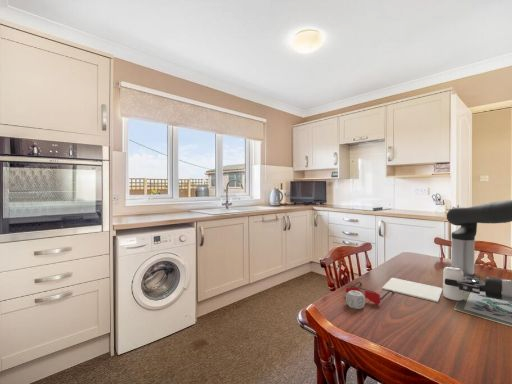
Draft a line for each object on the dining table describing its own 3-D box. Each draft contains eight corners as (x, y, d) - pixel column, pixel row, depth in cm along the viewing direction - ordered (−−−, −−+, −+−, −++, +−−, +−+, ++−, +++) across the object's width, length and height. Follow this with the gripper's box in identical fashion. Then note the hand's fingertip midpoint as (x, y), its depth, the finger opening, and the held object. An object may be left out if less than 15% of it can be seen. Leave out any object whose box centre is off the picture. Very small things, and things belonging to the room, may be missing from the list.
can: (467, 301, 98) (467, 270, 98) (448, 300, 100) (448, 270, 100) (457, 294, 105) (457, 265, 105) (439, 293, 106) (440, 264, 106)
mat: (391, 278, 124) (391, 277, 123) (442, 289, 110) (442, 288, 110) (382, 289, 112) (382, 287, 112) (437, 302, 98) (437, 300, 98)
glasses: (344, 296, 105) (344, 284, 105) (361, 285, 117) (361, 274, 117) (380, 307, 96) (380, 294, 95) (394, 294, 107) (394, 282, 107)
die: (356, 302, 100) (356, 289, 99) (365, 307, 95) (365, 294, 95) (345, 304, 98) (345, 291, 98) (354, 310, 93) (354, 296, 93)
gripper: (502, 274, 98) (447, 265, 109) (504, 285, 87) (443, 274, 98) (501, 293, 98) (447, 282, 109) (504, 307, 87) (443, 293, 98)
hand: (446, 278), depth 104 cm, fingers closed on can, 6 cm apart
